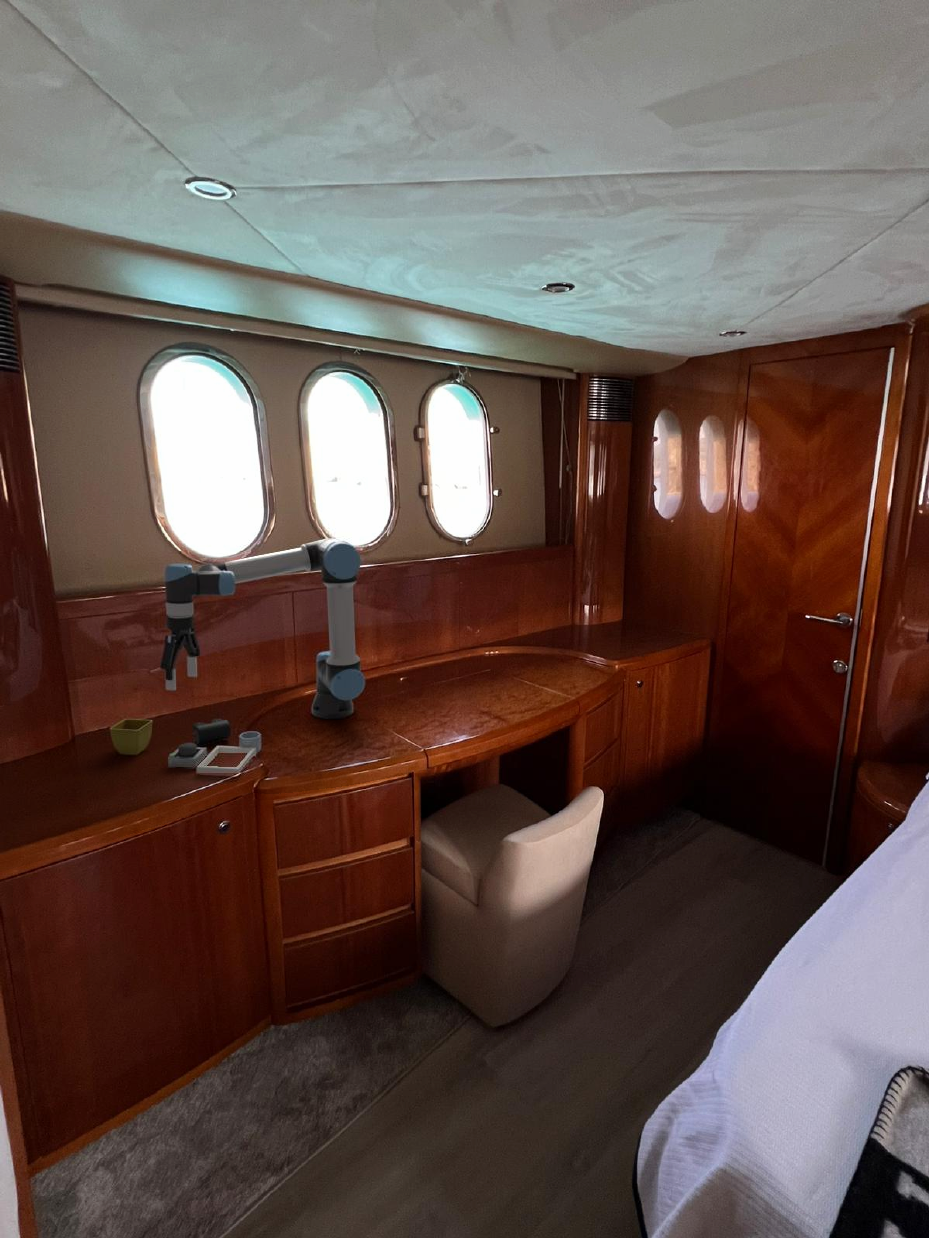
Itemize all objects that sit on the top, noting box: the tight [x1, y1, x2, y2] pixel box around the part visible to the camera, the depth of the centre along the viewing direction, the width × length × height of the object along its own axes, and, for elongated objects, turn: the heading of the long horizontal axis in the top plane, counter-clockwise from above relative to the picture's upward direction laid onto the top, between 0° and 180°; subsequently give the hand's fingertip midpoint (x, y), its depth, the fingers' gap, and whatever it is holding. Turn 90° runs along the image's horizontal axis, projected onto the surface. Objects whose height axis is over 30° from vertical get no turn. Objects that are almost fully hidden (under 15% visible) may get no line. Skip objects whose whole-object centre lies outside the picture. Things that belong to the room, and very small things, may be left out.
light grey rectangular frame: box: [196, 745, 257, 774], centre depth 188 cm, size 12×15×2 cm
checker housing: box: [167, 746, 208, 768], centre depth 188 cm, size 8×8×4 cm
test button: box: [177, 742, 198, 757], centre depth 188 cm, size 5×5×3 cm
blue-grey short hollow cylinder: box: [238, 730, 262, 754], centre depth 198 cm, size 6×6×5 cm
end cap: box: [191, 718, 232, 747], centre depth 202 cm, size 10×7×7 cm
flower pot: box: [109, 718, 153, 756], centre depth 192 cm, size 9×9×9 cm
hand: (182, 683), depth 195 cm, fingers open, 13 cm apart
